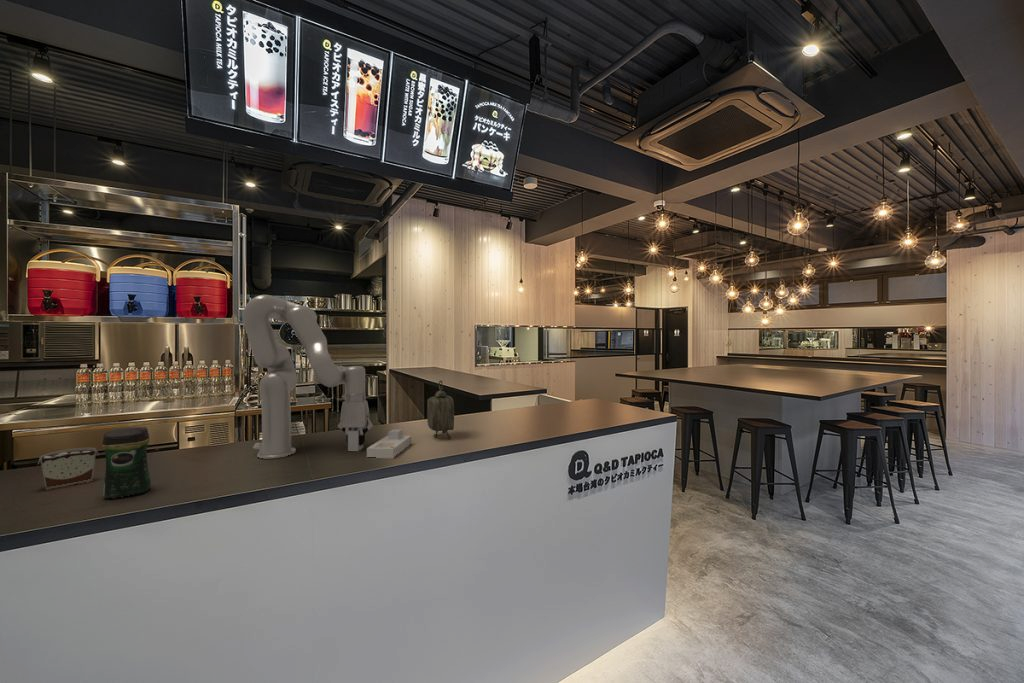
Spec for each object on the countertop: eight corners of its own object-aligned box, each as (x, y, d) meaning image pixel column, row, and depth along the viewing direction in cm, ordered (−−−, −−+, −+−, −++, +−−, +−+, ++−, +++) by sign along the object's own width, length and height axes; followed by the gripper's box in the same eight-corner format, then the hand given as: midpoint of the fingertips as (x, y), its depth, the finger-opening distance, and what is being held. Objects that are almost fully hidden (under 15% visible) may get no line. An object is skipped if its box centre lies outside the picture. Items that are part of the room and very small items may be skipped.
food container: (96, 476, 131) (96, 445, 131) (98, 480, 127) (98, 448, 127) (37, 487, 121) (36, 453, 121) (38, 492, 117) (37, 457, 117)
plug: (347, 451, 158) (347, 425, 158) (353, 448, 163) (353, 423, 162) (357, 451, 158) (357, 425, 158) (363, 448, 162) (363, 423, 162)
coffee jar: (153, 486, 122) (152, 423, 121) (146, 495, 115) (145, 429, 115) (109, 492, 117) (108, 427, 117) (98, 502, 110) (97, 433, 110)
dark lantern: (454, 440, 175) (453, 381, 174) (433, 442, 171) (432, 382, 171) (446, 432, 188) (446, 378, 188) (427, 434, 185) (426, 379, 185)
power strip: (366, 457, 149) (366, 440, 149) (387, 443, 169) (387, 428, 169) (393, 458, 149) (393, 440, 148) (411, 444, 168) (411, 428, 168)
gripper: (329, 399, 157) (330, 446, 157) (372, 399, 155) (372, 447, 156) (339, 396, 164) (339, 441, 164) (379, 396, 163) (380, 442, 163)
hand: (355, 444), depth 160 cm, fingers closed on plug, 4 cm apart
